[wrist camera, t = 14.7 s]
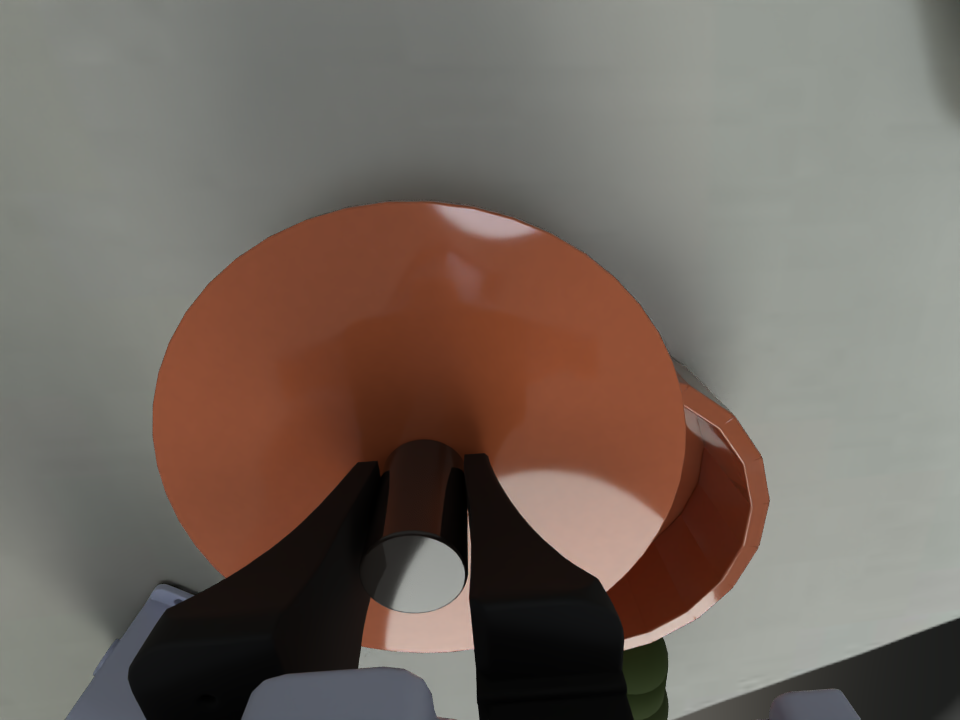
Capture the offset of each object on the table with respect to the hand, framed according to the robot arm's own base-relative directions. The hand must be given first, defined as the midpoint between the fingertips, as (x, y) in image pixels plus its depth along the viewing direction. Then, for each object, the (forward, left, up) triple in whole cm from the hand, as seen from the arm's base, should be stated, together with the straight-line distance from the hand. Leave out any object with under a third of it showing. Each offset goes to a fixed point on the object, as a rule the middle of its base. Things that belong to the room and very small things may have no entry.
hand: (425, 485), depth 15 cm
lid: (0, 0, -1) cm, 1 cm away
